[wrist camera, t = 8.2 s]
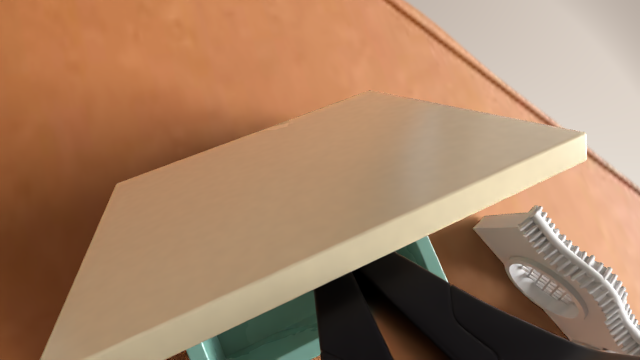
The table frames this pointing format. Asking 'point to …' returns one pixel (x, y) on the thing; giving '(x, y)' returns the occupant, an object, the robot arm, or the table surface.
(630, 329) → the lattice window wall
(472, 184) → the lid
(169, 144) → the table surface
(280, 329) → the teal open boxy piece
